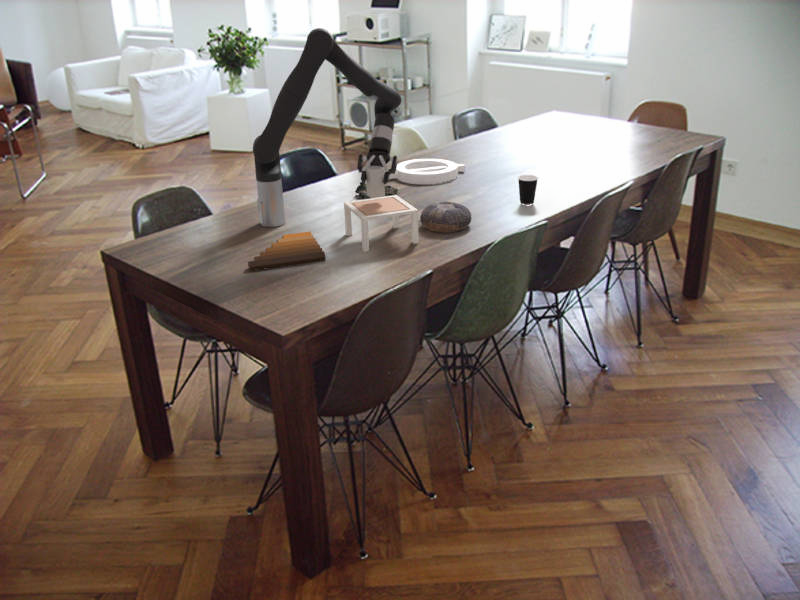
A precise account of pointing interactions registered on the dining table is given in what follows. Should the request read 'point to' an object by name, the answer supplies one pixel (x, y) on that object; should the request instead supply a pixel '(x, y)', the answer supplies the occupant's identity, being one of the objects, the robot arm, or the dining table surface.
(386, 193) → the decorative rock
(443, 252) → the dining table surface
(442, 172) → the ring with crossbar
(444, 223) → the sea urchin shell
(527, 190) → the glass of dark beer
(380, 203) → the trapdoor
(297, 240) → the pan flute
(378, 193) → the grey upright block
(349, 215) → the white four-legged frame
